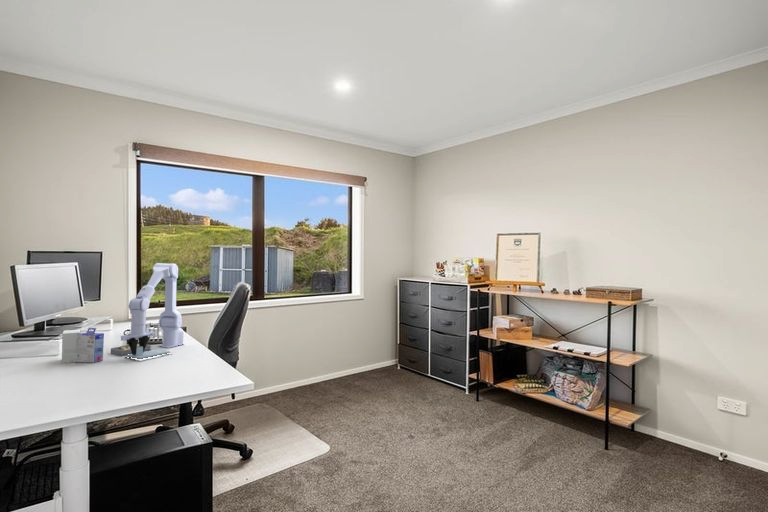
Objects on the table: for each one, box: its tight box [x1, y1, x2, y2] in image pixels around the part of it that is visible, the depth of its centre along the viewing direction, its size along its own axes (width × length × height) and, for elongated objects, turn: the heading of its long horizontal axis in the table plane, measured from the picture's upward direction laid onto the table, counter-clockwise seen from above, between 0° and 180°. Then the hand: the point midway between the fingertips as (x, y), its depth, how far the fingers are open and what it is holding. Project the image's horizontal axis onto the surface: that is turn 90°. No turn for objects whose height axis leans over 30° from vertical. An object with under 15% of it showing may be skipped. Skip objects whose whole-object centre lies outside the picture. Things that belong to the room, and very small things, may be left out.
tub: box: [110, 342, 152, 357], centre depth 199 cm, size 14×9×2 cm, turn 153°
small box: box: [61, 329, 82, 364], centre depth 181 cm, size 8×6×13 cm
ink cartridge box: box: [74, 327, 105, 364], centre depth 181 cm, size 10×6×14 cm, turn 85°
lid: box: [126, 346, 171, 359], centre depth 192 cm, size 15×10×5 cm, turn 153°
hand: (137, 353), depth 187 cm, fingers closed on lid, 3 cm apart
